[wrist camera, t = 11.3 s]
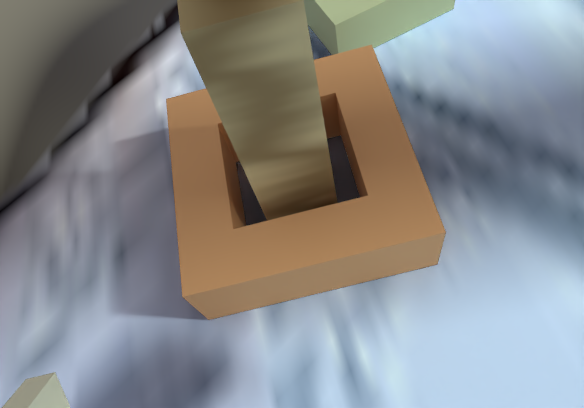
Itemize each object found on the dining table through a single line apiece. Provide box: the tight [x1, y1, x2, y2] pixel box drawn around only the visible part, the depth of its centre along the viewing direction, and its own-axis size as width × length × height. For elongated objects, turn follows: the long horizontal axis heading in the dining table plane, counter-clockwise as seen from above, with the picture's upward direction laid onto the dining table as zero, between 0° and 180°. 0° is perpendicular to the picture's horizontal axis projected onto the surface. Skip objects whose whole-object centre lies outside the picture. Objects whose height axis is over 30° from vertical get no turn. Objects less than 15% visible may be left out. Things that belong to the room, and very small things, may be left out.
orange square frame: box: [166, 45, 446, 320], centre depth 24 cm, size 11×11×4 cm
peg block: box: [177, 0, 338, 221], centre depth 19 cm, size 4×4×15 cm
